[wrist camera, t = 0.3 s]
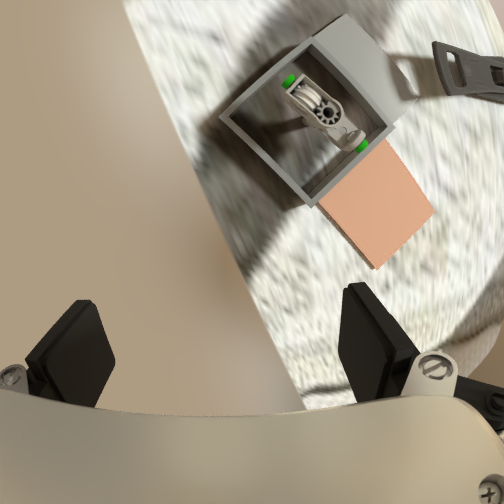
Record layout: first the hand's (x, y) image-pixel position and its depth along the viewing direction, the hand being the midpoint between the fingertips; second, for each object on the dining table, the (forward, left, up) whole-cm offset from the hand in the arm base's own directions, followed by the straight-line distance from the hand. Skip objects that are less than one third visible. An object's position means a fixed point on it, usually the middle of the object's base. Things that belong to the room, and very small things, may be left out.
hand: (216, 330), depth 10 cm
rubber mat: (-13, +15, -29) cm, 35 cm away
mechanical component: (-13, -1, -30) cm, 32 cm away
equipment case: (-17, -1, -29) cm, 34 cm away
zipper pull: (-42, +11, -30) cm, 53 cm away
